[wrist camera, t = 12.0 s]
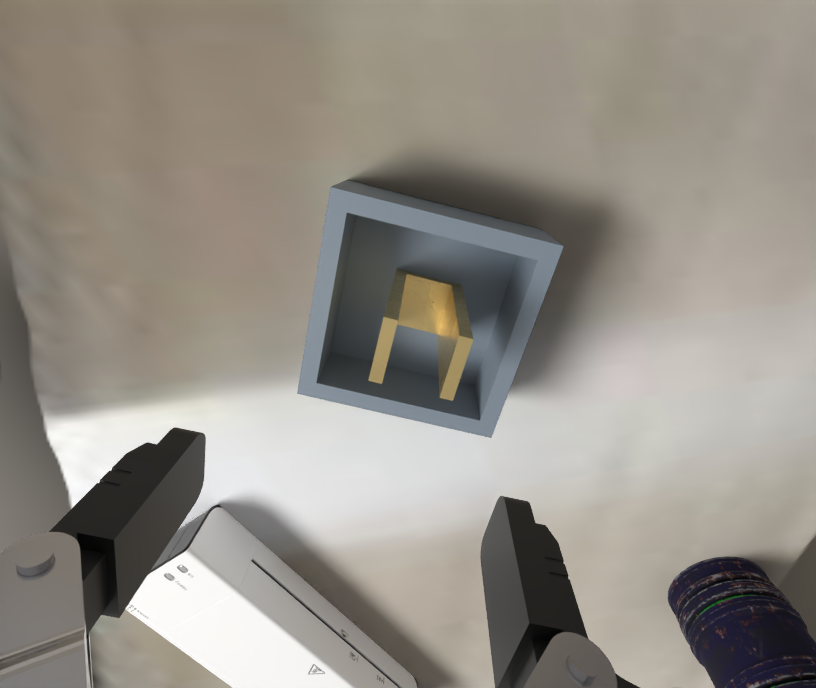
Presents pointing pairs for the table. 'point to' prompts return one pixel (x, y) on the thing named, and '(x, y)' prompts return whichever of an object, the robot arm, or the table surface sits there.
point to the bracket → (427, 325)
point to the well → (413, 349)
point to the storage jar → (742, 626)
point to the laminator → (254, 615)
